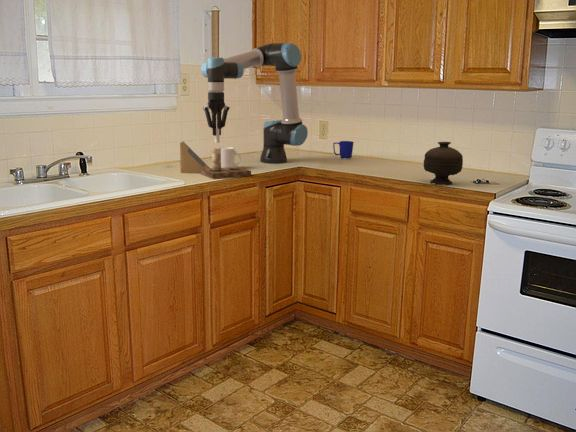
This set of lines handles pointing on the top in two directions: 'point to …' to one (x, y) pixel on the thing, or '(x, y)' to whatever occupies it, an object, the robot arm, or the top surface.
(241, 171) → the board
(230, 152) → the mug
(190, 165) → the sandwich container
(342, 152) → the mug
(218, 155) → the peg
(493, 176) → the top surface
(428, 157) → the pot
